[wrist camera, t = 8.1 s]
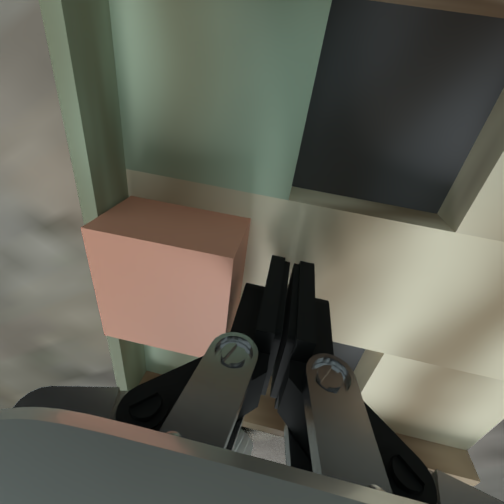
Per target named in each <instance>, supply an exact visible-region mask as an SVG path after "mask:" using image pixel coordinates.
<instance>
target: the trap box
mask: <svg viewBox="0 0 504 504" xmlns="http://www.w3.org/2000/svg"><path fill="white" fill-rule="evenodd" d="M39 4H40V9H41V14H42V19H43V24H44V29H45V34H46V39H47V44H48V48H49V53H50V58H51V63H52V68H53V73H54V78H55V83H56V88H57V93H58V98H59V103H60V108H61V113H62V118H63V123H64V128H65V133H66V137H67V142H68V147H69V152H70V157H71V162H72V167H73V172H74V177H75V182H76V187H77V192H78V197H79V202H80V207H81V212H82V217H83V221H84V225H86V224H87V223H89V222H90V221H92V220H94V219H95V218H97V217H98V216H100V215H101V214H103V213H105V212H106V211H108V210H109V209H111V208H113V207H114V206H116V205H117V204H119V203H120V202H122V201H124V200H125V199H127V198H128V197H130V196H135V197H140V198H145V199H151V200H156V201H161V202H166V203H172V204H177V205H182V206H188V207H193V208H198V209H203V210H209V211H214V212H219V213H224V214H230V215H235V216H240V217H245V218H251V222H250V229H249V237H248V244H247V251H246V259H245V266H244V274H243V281H242V288H241V296H240V300H241V297H242V294H243V290H244V287H245V284H246V283H251V284H255V285H260V286H264V287H265V285H266V280H267V276H268V271H269V267H270V262H271V258H272V255H276V256H281V257H285V261H287V262H290V269H289V278H288V284H289V280H290V277H291V273H292V269H293V265H294V263H296V264H299V263H300V261H304V262H309V263H314V265H315V298H319V299H324V300H328V301H329V306H330V317H331V329H332V340H333V351H334V356H336V357H338V358H340V359H342V360H343V361H344V362H346V363H347V364H348V365H349V366H350V368H351V369H352V370H353V372H354V374H355V376H356V379H357V382H358V385H359V389H360V392H361V395H362V398H363V401H364V402H365V403H366V404H367V405H368V406H369V407H370V408H371V409H372V410H373V411H374V412H375V413H376V414H377V415H378V416H379V417H380V418H381V419H382V420H383V421H384V422H385V423H386V424H387V425H388V426H389V427H390V428H391V429H392V430H393V431H394V432H395V434H396V435H397V436H398V437H399V438H400V439H401V440H402V441H403V442H404V443H405V444H406V445H407V446H408V447H409V448H410V449H411V450H412V451H413V452H414V453H415V454H416V455H417V456H418V457H419V458H420V459H421V461H422V462H423V463H424V464H425V466H426V467H427V468H428V469H429V470H431V471H433V472H434V471H435V470H436V469H438V470H440V471H442V472H444V473H446V474H448V475H450V476H452V477H454V478H456V479H458V480H460V481H462V482H464V483H466V484H468V485H471V486H475V485H477V484H478V483H480V479H479V477H478V475H477V472H476V470H475V468H474V465H473V463H472V461H471V458H470V456H469V454H468V451H467V450H468V449H470V448H471V447H472V446H473V445H474V444H475V443H476V442H478V441H479V440H480V439H481V438H482V437H483V436H484V435H486V434H487V433H488V432H489V431H490V430H491V429H493V428H494V427H495V426H496V425H497V424H498V423H499V422H501V421H502V420H503V419H504V0H39ZM287 288H288V287H287ZM107 340H108V345H109V350H110V355H111V360H112V365H113V370H114V375H115V380H116V385H117V387H120V391H130V390H131V389H133V388H135V387H136V386H138V385H140V384H142V383H144V382H147V381H149V380H151V379H153V378H155V377H158V376H160V375H162V374H164V373H167V372H169V371H171V370H173V369H175V368H178V367H180V366H182V365H184V364H186V363H189V362H191V361H193V360H195V359H197V358H199V357H195V356H191V355H186V354H182V353H178V352H174V351H169V350H165V349H161V348H157V347H152V346H148V345H144V344H140V343H135V342H131V341H127V340H123V339H118V338H114V337H110V336H107ZM273 367H274V366H273ZM272 375H273V370H272V373H271V377H270V381H269V384H268V388H267V391H266V395H265V396H264V395H261V397H260V400H259V404H258V407H257V408H255V409H254V410H252V411H251V412H249V413H248V414H246V415H245V416H244V420H243V423H242V427H246V428H250V429H254V430H258V431H262V432H266V433H270V434H273V435H277V436H281V437H284V423H285V422H284V421H283V419H282V418H281V417H280V415H279V414H278V412H277V410H278V409H274V407H275V398H272V397H270V390H271V383H272Z"/></svg>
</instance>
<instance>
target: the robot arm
mask: <svg viewBox="0 0 504 504" xmlns="http://www.w3.org/2000/svg"><path fill="white" fill-rule="evenodd" d="M289 269H290V262H287V261H285V257H281V256H276V255H272V258H271V262H270V267H269V271H268V276H267V280H266V285H265V287H264V286H260V285H255V284H251V283H246V284H245V287H244V290H243V294H242V297H241V300H240V303H239V306H238V309H237V312H236V315H235V318H234V322H233V325H232V328H231V331H230V332H227V333H224V334H221V335H219V336H218V337H216V338H215V339H214V340H213V341H212V343H211V344H210V346H209V348H208V349H207V351H206V353H205V354H204V356H202V357H200V358H197V359H195V360H193V361H191V362H189V363H186V364H184V365H182V366H180V367H178V368H175V369H173V370H171V371H169V372H167V373H164V374H162V375H160V376H158V377H155V378H153V379H151V380H149V381H147V382H144V383H142V384H140V385H138V386H136V387H135V388H133V389H131V390H130V391H120V387H84V386H48V387H41V388H39V389H36V390H34V391H31V392H30V393H28V394H27V395H25V396H24V397H23V398H21V399H20V400H19V401H18V402H17V403H16V405H15V406H14V407H13V408H6V409H0V504H504V502H503V501H501V500H499V499H497V498H495V497H493V496H491V495H488V494H486V493H484V492H482V491H480V490H478V489H476V488H474V487H472V486H470V485H468V484H466V483H464V482H462V481H460V480H458V479H456V478H454V477H452V476H450V475H448V474H446V473H444V472H442V471H440V470H438V469H436V470H435V471H434V472H433V471H431V470H429V469H428V468H427V467H426V466H425V464H424V463H423V462H422V461H421V459H420V458H419V457H418V456H417V455H416V454H415V453H414V452H413V451H412V450H411V449H410V448H409V447H408V446H407V445H406V444H405V443H404V442H403V441H402V440H401V439H400V438H399V437H398V436H397V435H396V434H395V432H394V431H393V430H392V429H391V428H390V427H389V426H388V425H387V424H386V423H385V422H384V421H383V420H382V419H381V418H380V417H379V416H378V415H377V414H376V413H375V412H374V411H373V410H372V409H371V408H370V407H369V406H368V405H367V404H366V403H365V402H364V401H363V398H362V395H361V392H360V389H359V385H358V382H357V379H356V376H355V374H354V372H353V370H352V369H351V368H350V366H349V365H348V364H347V363H346V362H344V361H343V360H342V359H340V358H338V357H336V356H334V351H333V340H332V329H331V317H330V306H329V301H328V300H324V299H319V298H315V265H314V263H309V262H304V261H300V263H299V264H296V263H294V265H293V269H292V273H291V277H290V280H289V284H288V278H289ZM287 287H288V288H287ZM273 366H274V367H273ZM272 370H273V375H272V383H271V390H270V397H272V398H275V407H274V409H278V410H277V412H278V414H279V415H280V417H281V418H282V419H283V421H284V422H285V423H284V440H285V455H286V465H284V464H280V463H276V462H272V461H269V460H265V459H261V458H257V457H254V456H250V455H246V454H242V453H239V452H235V451H233V448H234V446H235V443H236V440H237V437H238V434H239V432H240V429H241V426H242V423H243V420H244V416H245V415H246V414H248V413H249V412H251V411H252V410H254V409H255V408H257V407H258V404H259V400H260V397H261V395H264V396H265V395H266V391H267V388H268V384H269V381H270V377H271V373H272Z"/></svg>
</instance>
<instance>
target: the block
mask: <svg viewBox="0 0 504 504" xmlns="http://www.w3.org/2000/svg"><path fill="white" fill-rule="evenodd" d="M250 222H251V218H245V217H240V216H235V215H230V214H224V213H219V212H214V211H209V210H203V209H198V208H193V207H188V206H182V205H177V204H172V203H166V202H161V201H156V200H151V199H145V198H140V197H135V196H130V197H128V198H127V199H125V200H124V201H122V202H120V203H119V204H117V205H116V206H114V207H113V208H111V209H109V210H108V211H106V212H105V213H103V214H101V215H100V216H98V217H97V218H95V219H94V220H92V221H90V222H89V223H87V224H86V225H84V226H82V227H81V231H82V235H83V240H84V244H85V249H86V253H87V258H88V262H89V267H90V272H91V276H92V281H93V285H94V290H95V294H96V299H97V303H98V308H99V312H100V317H101V321H102V326H103V330H104V335H106V336H110V337H114V338H118V339H123V340H127V341H131V342H135V343H140V344H144V345H148V346H152V347H157V348H161V349H165V350H169V351H174V352H178V353H182V354H186V355H191V356H195V357H199V358H200V357H202V356H204V354H205V353H206V351H207V349H208V348H209V346H210V344H211V343H212V341H213V340H214V339H215V338H216V337H218V336H219V335H221V334H224V333H227V332H230V331H231V328H232V325H233V322H234V318H235V315H236V312H237V309H238V306H239V303H240V296H241V288H242V281H243V274H244V266H245V259H246V251H247V244H248V237H249V229H250Z"/></svg>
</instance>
